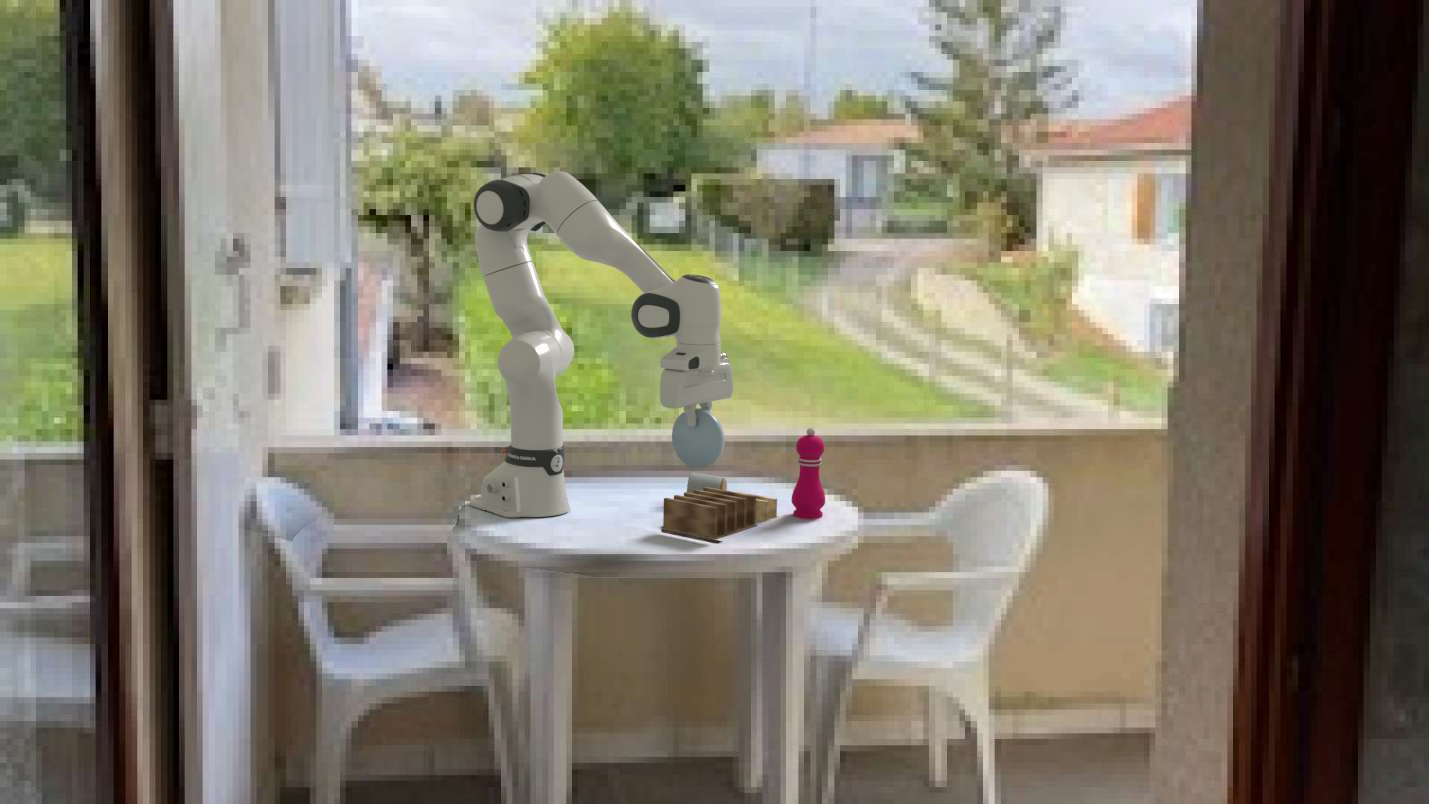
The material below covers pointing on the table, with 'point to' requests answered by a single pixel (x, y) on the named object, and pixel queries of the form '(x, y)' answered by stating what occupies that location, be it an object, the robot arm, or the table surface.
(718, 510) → the dish rack
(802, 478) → the pepper mill
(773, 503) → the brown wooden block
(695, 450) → the plate
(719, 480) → the ceramic mug
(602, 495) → the table surface
